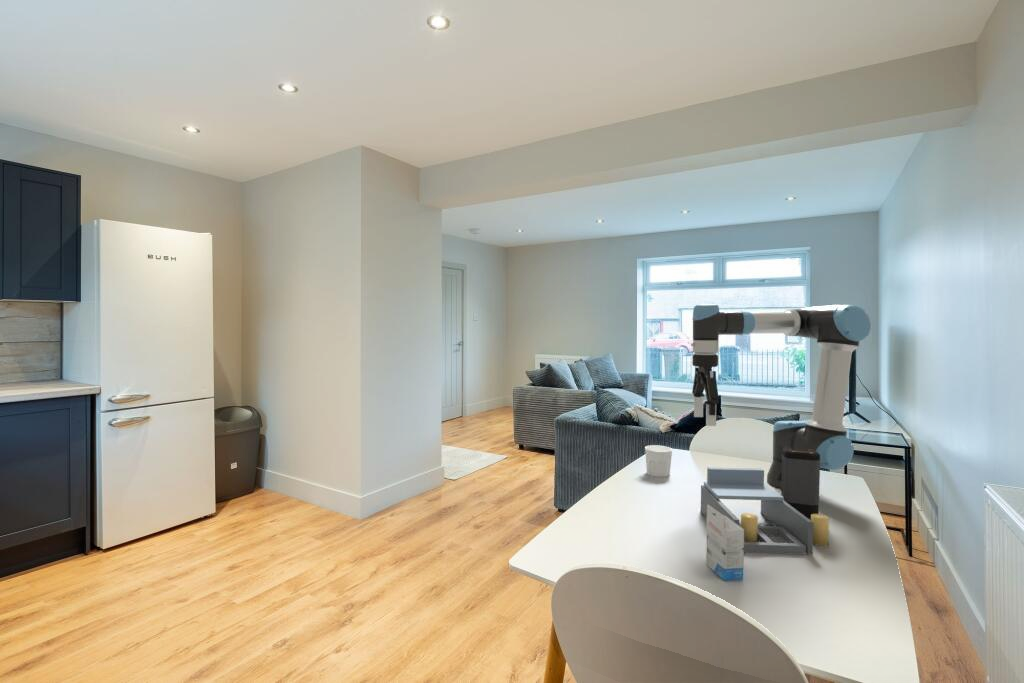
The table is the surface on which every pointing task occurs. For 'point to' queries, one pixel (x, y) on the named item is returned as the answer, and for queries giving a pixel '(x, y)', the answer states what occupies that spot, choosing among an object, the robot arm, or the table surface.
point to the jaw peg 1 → (749, 527)
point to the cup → (658, 460)
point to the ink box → (724, 546)
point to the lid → (739, 484)
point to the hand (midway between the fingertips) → (704, 421)
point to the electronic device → (801, 480)
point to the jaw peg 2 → (820, 529)
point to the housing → (786, 522)
